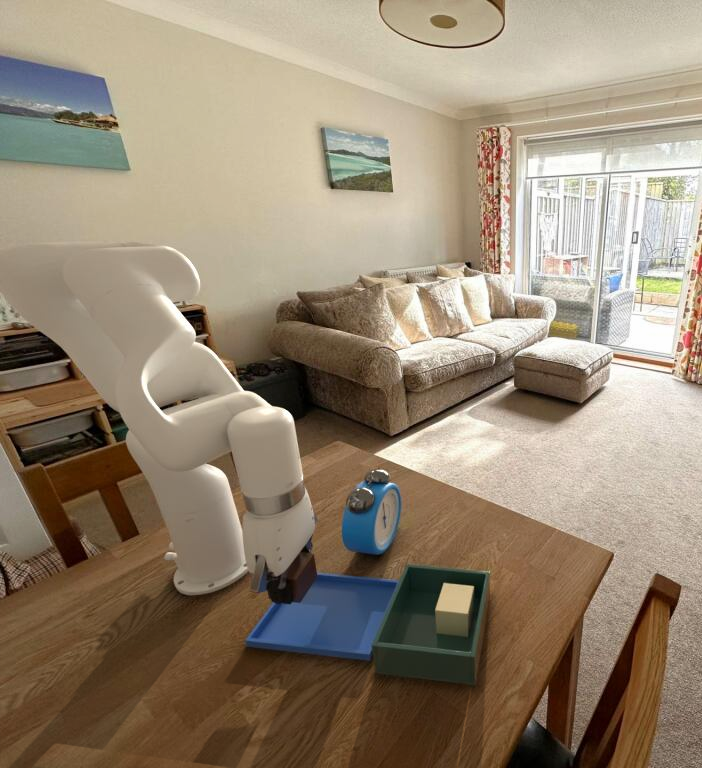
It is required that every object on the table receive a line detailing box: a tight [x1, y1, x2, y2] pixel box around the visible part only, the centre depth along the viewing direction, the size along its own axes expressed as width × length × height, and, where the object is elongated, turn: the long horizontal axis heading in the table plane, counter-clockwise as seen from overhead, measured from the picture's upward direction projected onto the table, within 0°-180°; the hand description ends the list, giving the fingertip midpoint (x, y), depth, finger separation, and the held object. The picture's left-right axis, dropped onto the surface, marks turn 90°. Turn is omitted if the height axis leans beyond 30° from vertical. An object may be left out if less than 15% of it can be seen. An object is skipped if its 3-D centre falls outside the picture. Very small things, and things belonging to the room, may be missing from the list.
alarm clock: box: [341, 467, 402, 557], centre depth 77 cm, size 13×6×15 cm, turn 172°
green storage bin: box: [372, 563, 491, 688], centre depth 62 cm, size 14×14×6 cm
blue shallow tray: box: [244, 571, 399, 662], centre depth 65 cm, size 19×13×2 cm
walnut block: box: [266, 552, 318, 603], centre depth 63 cm, size 5×5×5 cm
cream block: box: [435, 583, 474, 637], centre depth 63 cm, size 5×5×5 cm
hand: (293, 584), depth 64 cm, fingers closed on walnut block, 5 cm apart
